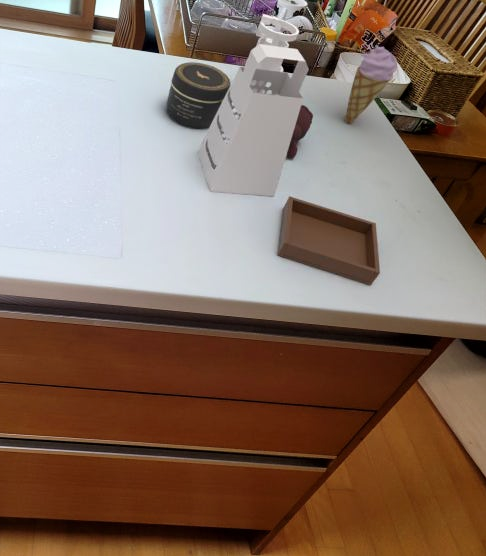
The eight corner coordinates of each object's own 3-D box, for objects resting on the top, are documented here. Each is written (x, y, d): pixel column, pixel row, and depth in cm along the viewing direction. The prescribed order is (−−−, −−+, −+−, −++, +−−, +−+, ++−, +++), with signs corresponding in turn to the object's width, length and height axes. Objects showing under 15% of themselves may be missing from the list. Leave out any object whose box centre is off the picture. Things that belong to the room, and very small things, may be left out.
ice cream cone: (324, 112, 108) (362, 37, 97) (348, 110, 111) (387, 36, 100) (346, 131, 104) (387, 55, 94) (370, 129, 107) (412, 54, 96)
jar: (210, 137, 95) (224, 97, 89) (156, 117, 96) (167, 77, 90) (223, 112, 101) (237, 73, 96) (173, 94, 103) (184, 55, 97)
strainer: (237, 84, 110) (264, 7, 99) (271, 94, 110) (302, 18, 99) (233, 100, 105) (261, 21, 95) (269, 110, 105) (301, 32, 94)
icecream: (270, 80, 99) (272, 129, 90) (313, 80, 98) (320, 129, 88) (266, 114, 104) (267, 163, 95) (306, 114, 103) (312, 164, 94)
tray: (367, 235, 83) (375, 223, 81) (370, 285, 75) (380, 273, 73) (282, 208, 84) (289, 196, 82) (277, 255, 76) (284, 242, 74)
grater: (197, 151, 91) (236, 30, 76) (256, 157, 93) (305, 40, 78) (210, 191, 84) (256, 66, 69) (274, 196, 86) (331, 76, 71)
